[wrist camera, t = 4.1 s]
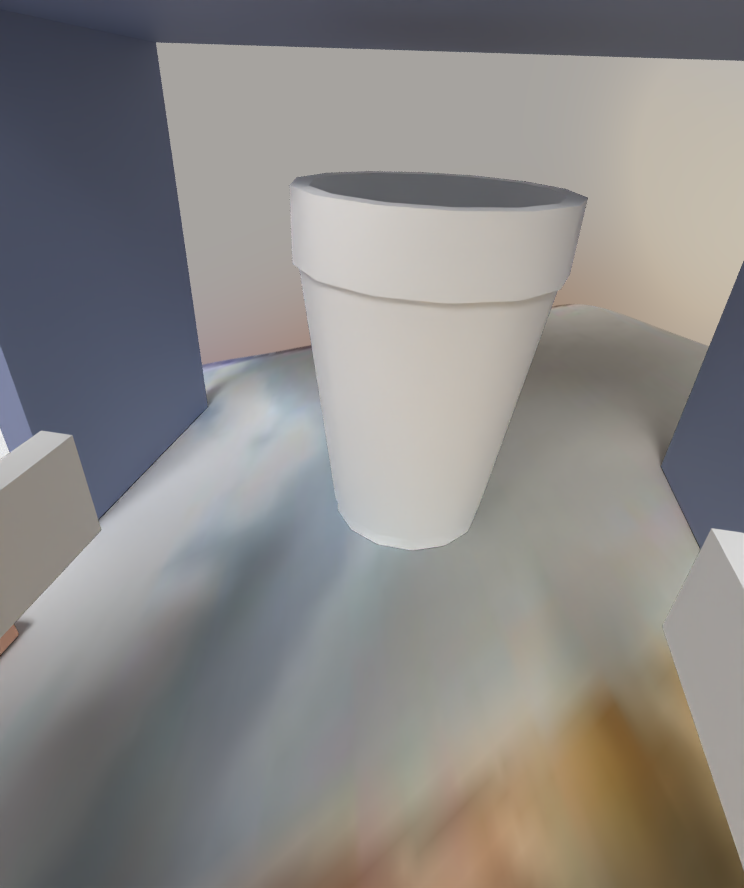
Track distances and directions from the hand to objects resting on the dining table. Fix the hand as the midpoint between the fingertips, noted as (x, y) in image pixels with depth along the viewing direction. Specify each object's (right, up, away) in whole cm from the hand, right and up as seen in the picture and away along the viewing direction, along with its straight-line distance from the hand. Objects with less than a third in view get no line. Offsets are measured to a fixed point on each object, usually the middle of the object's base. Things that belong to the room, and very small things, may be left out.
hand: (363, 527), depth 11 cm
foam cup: (+2, -1, +13) cm, 13 cm away
